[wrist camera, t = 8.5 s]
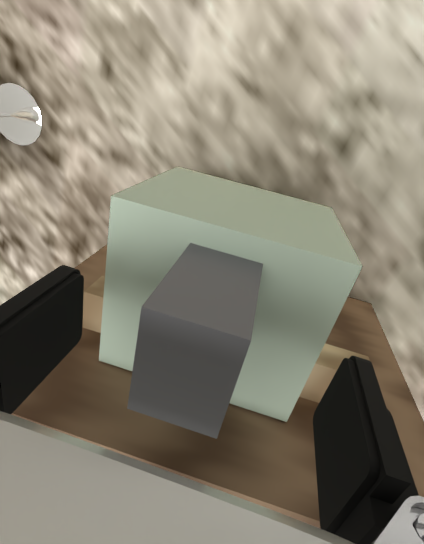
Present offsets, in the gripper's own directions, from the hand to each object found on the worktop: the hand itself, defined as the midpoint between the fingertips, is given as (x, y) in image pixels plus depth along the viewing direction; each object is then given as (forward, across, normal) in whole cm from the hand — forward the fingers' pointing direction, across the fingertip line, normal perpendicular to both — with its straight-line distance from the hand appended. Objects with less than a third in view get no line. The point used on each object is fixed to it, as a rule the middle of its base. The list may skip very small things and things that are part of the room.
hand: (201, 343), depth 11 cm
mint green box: (+12, 0, +1) cm, 12 cm away
